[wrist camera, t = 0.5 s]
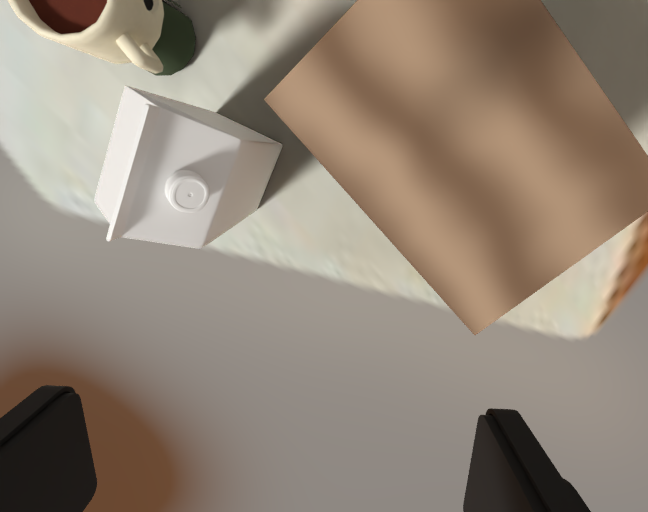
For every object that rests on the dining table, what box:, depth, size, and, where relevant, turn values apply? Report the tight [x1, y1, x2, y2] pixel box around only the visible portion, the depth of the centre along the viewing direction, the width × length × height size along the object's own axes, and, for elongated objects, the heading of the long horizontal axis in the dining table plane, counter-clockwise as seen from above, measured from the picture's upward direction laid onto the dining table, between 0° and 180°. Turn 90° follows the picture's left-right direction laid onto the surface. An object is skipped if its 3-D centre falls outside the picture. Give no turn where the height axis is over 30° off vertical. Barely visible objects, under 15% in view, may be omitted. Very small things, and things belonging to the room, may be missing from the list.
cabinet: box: [264, 0, 648, 335], centre depth 28 cm, size 14×20×14 cm
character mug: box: [8, 0, 196, 75], centre depth 27 cm, size 11×7×13 cm, turn 38°
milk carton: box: [94, 85, 283, 249], centre depth 27 cm, size 7×7×19 cm
